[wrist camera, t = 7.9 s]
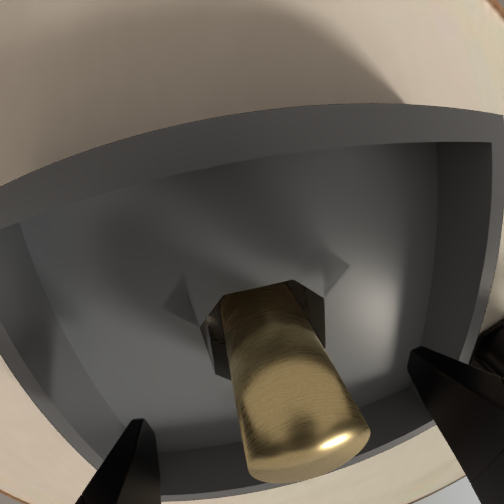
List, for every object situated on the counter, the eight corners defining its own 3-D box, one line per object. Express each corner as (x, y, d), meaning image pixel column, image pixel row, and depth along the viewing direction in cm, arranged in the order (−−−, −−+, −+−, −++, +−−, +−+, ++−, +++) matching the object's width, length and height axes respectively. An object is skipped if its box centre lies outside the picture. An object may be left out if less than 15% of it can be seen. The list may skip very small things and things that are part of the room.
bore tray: (413, 112, 12) (503, 115, 6) (400, 367, 18) (442, 421, 13) (24, 185, 10) (-58, 219, 5) (140, 431, 16) (135, 501, 11)
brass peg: (289, 266, 13) (378, 401, 6) (295, 327, 15) (362, 461, 7) (213, 283, 13) (236, 443, 6) (228, 343, 14) (257, 491, 7)
